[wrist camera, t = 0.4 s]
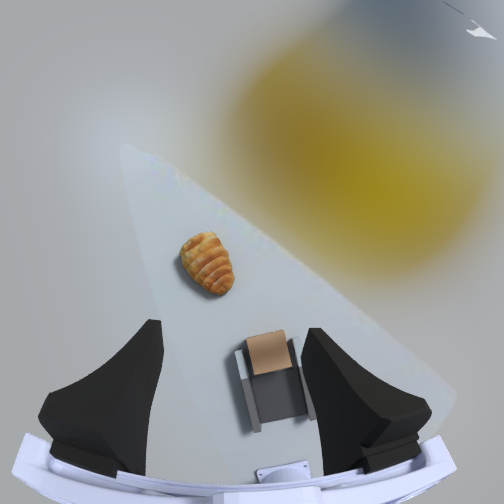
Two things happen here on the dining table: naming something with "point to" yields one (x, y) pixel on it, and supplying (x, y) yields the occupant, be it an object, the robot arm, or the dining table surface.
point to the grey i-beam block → (276, 391)
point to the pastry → (208, 263)
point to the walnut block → (269, 352)
